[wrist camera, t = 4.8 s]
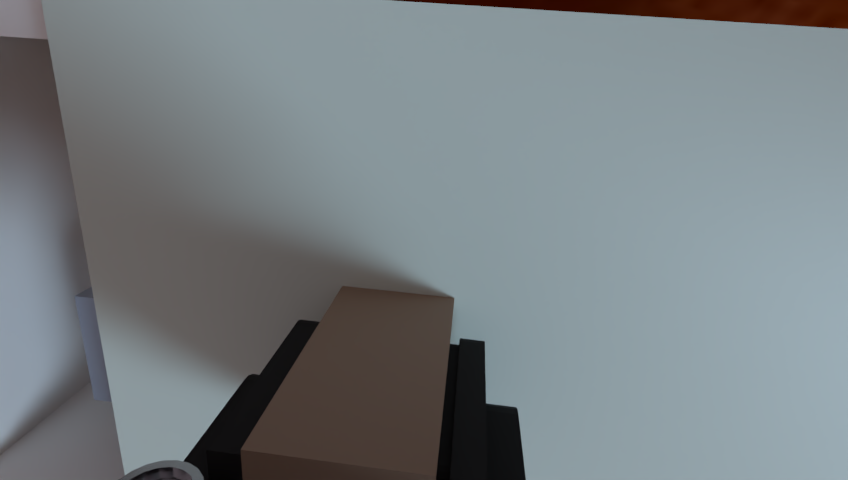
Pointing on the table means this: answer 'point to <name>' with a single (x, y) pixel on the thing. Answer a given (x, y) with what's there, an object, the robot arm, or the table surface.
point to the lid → (465, 231)
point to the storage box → (42, 277)
